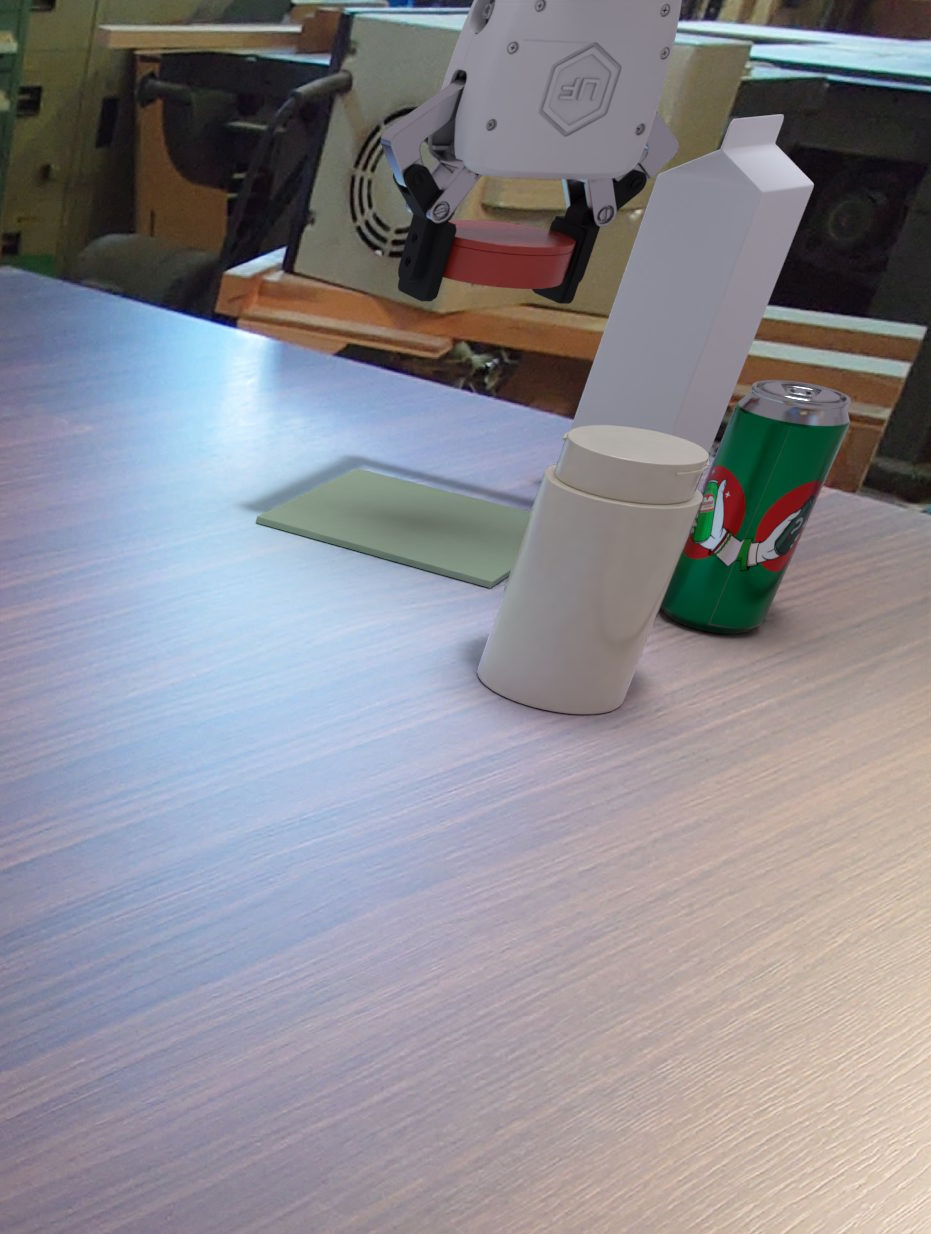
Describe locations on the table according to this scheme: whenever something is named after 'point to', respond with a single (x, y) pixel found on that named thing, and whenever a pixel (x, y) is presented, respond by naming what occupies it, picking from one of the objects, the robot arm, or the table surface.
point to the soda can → (756, 504)
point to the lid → (508, 255)
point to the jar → (593, 568)
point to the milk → (697, 287)
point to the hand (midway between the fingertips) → (483, 295)
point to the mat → (408, 525)
